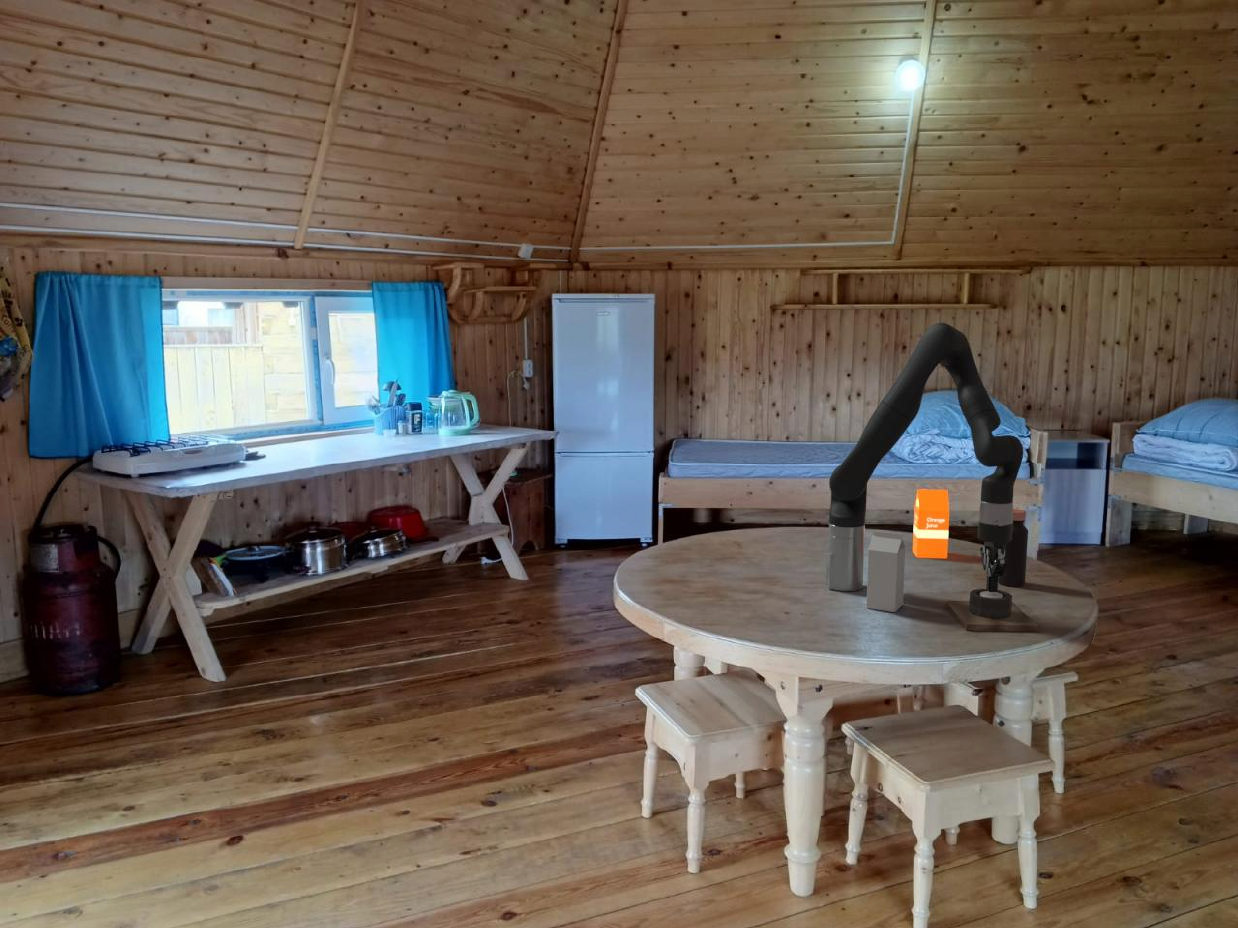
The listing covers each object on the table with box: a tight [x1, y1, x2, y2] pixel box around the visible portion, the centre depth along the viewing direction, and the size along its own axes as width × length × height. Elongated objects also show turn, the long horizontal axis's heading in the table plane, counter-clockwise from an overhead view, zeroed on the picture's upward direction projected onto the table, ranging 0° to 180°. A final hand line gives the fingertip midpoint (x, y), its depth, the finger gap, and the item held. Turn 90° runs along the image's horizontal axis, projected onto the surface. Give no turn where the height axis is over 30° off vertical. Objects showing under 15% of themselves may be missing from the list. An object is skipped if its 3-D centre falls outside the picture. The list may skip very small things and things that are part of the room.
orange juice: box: [912, 488, 950, 559], centre depth 282 cm, size 8×9×20 cm
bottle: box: [998, 508, 1029, 588], centre depth 252 cm, size 7×7×20 cm
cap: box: [980, 591, 1003, 598], centre depth 224 cm, size 5×5×4 cm
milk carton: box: [866, 530, 906, 613], centre depth 233 cm, size 7×7×19 cm
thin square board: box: [944, 588, 1039, 633], centre depth 225 cm, size 16×18×6 cm
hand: (991, 591), depth 224 cm, fingers closed
